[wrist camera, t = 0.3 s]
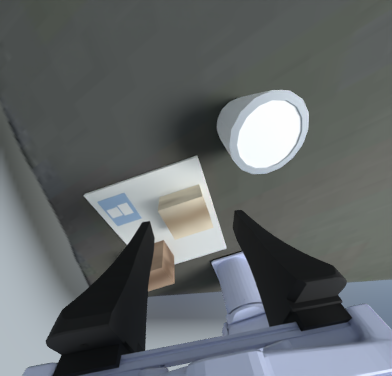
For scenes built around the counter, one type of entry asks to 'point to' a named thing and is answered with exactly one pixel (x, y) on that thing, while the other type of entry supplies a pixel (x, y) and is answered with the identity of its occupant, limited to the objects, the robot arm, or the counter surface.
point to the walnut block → (161, 267)
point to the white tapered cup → (263, 129)
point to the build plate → (148, 207)
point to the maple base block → (185, 212)
